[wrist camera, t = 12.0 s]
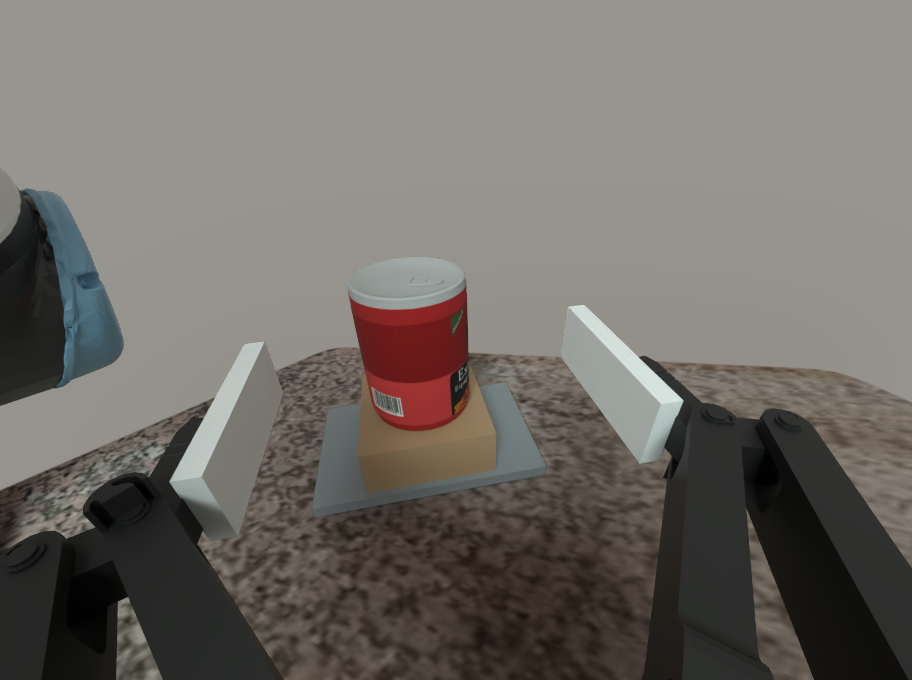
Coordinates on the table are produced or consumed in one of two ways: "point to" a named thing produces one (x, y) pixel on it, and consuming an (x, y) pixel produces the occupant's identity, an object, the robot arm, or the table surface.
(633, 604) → the table surface
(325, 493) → the plinth
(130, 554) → the robot arm
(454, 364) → the canned food
